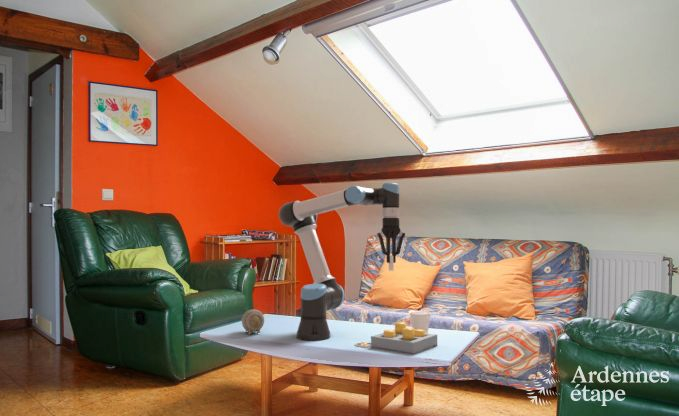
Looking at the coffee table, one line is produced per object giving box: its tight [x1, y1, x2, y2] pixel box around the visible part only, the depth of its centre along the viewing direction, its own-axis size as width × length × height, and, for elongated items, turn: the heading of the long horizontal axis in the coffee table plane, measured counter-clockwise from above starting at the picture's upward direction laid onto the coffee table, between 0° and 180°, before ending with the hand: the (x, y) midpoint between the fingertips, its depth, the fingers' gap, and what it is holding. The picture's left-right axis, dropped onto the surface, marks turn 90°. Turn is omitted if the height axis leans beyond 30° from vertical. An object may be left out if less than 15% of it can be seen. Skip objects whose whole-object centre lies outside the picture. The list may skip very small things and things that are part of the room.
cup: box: [408, 310, 432, 334], centre depth 236 cm, size 10×10×11 cm
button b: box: [402, 327, 414, 341], centre depth 211 cm, size 5×5×5 cm
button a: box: [383, 329, 395, 338], centre depth 216 cm, size 5×5×5 cm
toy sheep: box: [241, 308, 265, 335], centre depth 245 cm, size 11×17×11 cm, turn 24°
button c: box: [394, 321, 407, 334], centre depth 223 cm, size 5×5×5 cm
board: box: [370, 329, 438, 355], centre depth 217 cm, size 20×20×4 cm
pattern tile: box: [354, 341, 371, 349], centre depth 218 cm, size 6×6×1 cm
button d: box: [414, 329, 425, 337], centre depth 218 cm, size 5×5×5 cm
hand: (391, 270), depth 233 cm, fingers closed
